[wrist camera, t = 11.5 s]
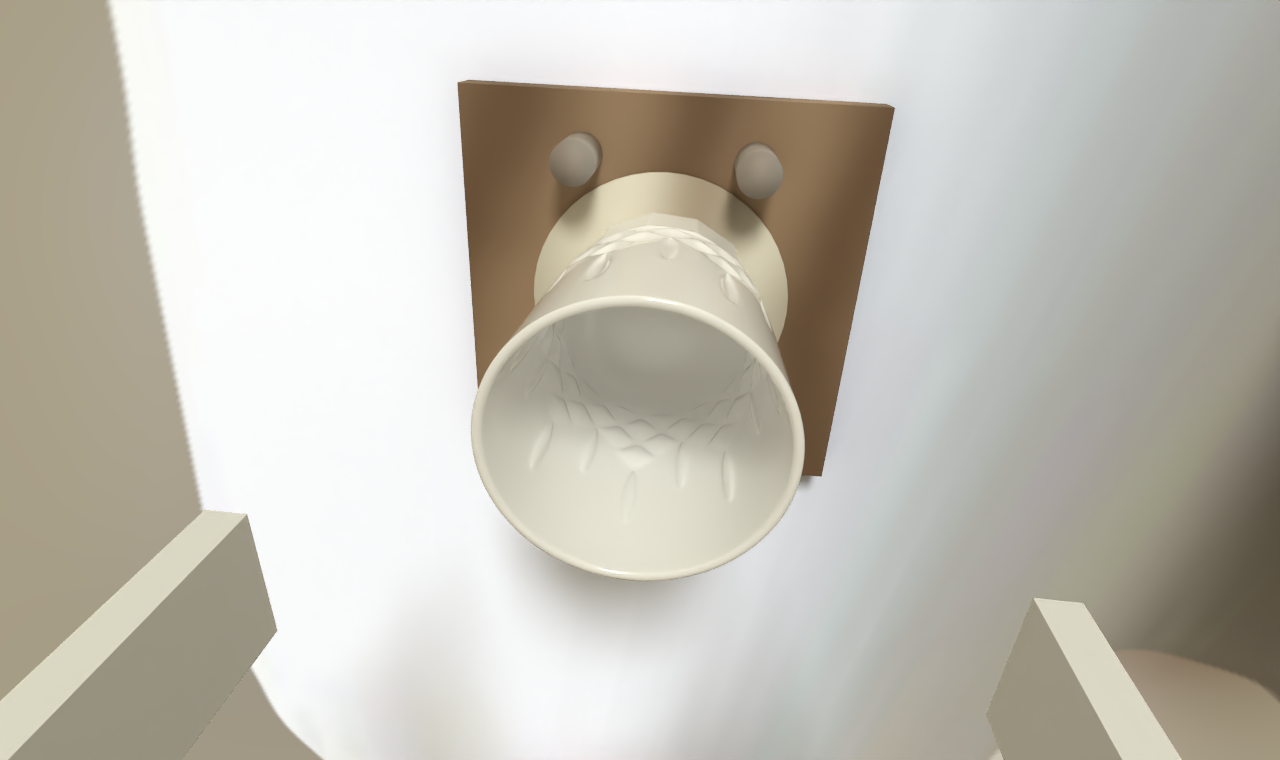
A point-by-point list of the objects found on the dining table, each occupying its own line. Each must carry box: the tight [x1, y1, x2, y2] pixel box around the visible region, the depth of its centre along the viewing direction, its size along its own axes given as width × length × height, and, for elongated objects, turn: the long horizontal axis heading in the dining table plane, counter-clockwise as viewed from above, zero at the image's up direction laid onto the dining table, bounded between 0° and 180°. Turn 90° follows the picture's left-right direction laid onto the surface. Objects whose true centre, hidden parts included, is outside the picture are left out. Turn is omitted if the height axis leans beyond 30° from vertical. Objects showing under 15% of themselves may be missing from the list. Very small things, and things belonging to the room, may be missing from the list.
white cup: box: [471, 212, 805, 581], centre depth 21 cm, size 8×8×10 cm
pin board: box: [458, 80, 895, 476], centre depth 25 cm, size 14×14×3 cm
